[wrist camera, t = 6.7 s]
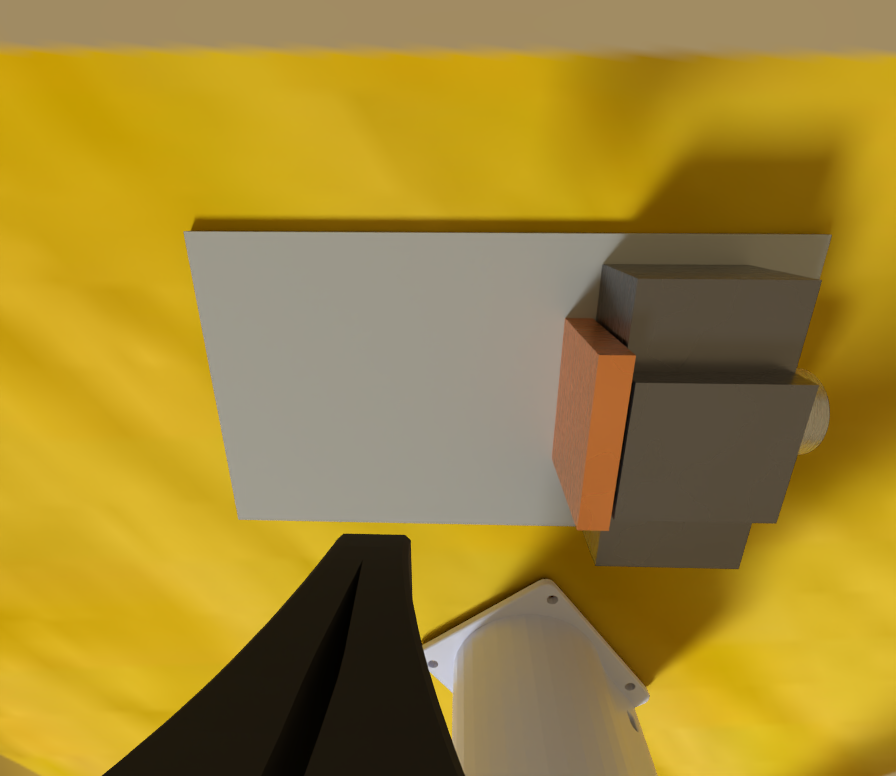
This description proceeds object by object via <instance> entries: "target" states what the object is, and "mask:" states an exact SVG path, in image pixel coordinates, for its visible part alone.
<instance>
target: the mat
mask: <svg viewBox="0 0 896 776" xmlns="http://www.w3.org/2000/svg"><path fill="white" fill-rule="evenodd" d="M184 237H185V242H186V247H187V252H188V258H189V263H190V268H191V273H192V279H193V284H194V289H195V294H196V299H197V305H198V310H199V315H200V320H201V326H202V331H203V336H204V341H205V346H206V352H207V357H208V362H209V367H210V373H211V378H212V383H213V388H214V394H215V399H216V404H217V409H218V414H219V420H220V425H221V430H222V435H223V441H224V446H225V451H226V456H227V461H228V467H229V472H230V477H231V482H232V488H233V493H234V498H235V503H236V509H237V514H238V519H239V520H287V521H337V522H388V523H438V524H488V525H538V526H575V523H574V520H573V517H572V515H571V512H570V509H569V506H568V503H567V501H566V498H565V495H564V492H563V489H562V486H561V484H560V481H559V478H558V475H557V472H556V470H555V467H554V464H553V461H552V450H553V439H554V429H555V418H556V407H557V397H558V386H559V376H560V365H561V354H562V344H563V333H564V323H565V318H593V319H594V320H595V321H596V314H597V305H598V297H599V289H600V280H601V272H602V264H686V265H752V266H757V267H762V268H766V269H771V270H776V271H781V272H786V273H790V274H795V275H800V276H805V277H810V278H814V279H820V275H821V272H822V268H823V265H824V261H825V258H826V254H827V251H828V247H829V244H830V240H831V237H832V235H827V234H691V233H496V232H300V231H184Z"/></svg>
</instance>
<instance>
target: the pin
mask: <svg viewBox="0 0 896 776" xmlns="http://www.w3.org/2000/svg"><path fill="white" fill-rule="evenodd" d="M635 359H636V355H635V354H634V353H632V352H631V351H630V350H629V349H628V348H627V347H626V346H624V345H623V344H622V343H621V342H620V341H619V340H617V339H616V338H615V337H614V336H613V335H612V334H610V333H609V332H608V331H607V330H606V329H605V328H603V327H602V326H601V325H600V324H599V323H598V322H597V321H595V320H594V319H593V318H565V323H564V333H563V344H562V354H561V365H560V376H559V386H558V397H557V407H556V418H555V429H554V439H553V450H552V461H553V464H554V467H555V470H556V472H557V475H558V478H559V481H560V484H561V486H562V489H563V492H564V495H565V498H566V501H567V503H568V506H569V509H570V512H571V515H572V517H573V520H574V523H575V526H576V529H577V530H590V531H609V527H610V520H611V514H612V507H613V501H614V494H615V488H616V481H617V475H618V469H619V462H620V456H621V449H622V443H623V436H624V430H625V423H626V417H627V410H628V404H629V397H630V391H631V384H632V378H633V372H634V365H635ZM795 373H796V374H798V375H800V376H802V377H804V378H806V379H808V380H810V381H812V382H814V383H816V384H818V385H819V388H818V391H817V394H816V397H815V400H814V404H813V407H812V410H811V413H810V417H809V420H808V423H807V426H806V429H805V433H804V436H803V439H802V442H801V445H800V449H799V452H798V455H801V454H806V453H809V452H811V451H813V450H814V449H815V448H817V446H818V445H819V444H820V443H821V442H822V440H823V438H824V437H825V434H826V432H827V429H828V425H829V418H830V408H829V401H828V397H827V394H826V391H825V389H824V387H823V385H822V383H821V382H820V380H819V379H818V378H817V377H816V376H815V375H814V374H812V373H811V372H809V371H807V370H805V369H800V368H796V372H795Z"/></svg>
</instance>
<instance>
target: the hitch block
mask: <svg viewBox="0 0 896 776" xmlns="http://www.w3.org/2000/svg"><path fill="white" fill-rule="evenodd" d="M821 282H822V280H819V279H814V278H810V277H805V276H800V275H795V274H790V273H786V272H781V271H776V270H771V269H766V268H762V267H757V266H752V265H686V264H602V272H601V280H600V289H599V297H598V305H597V314H596V321H597V322H598V323H599V324H600V325H601V326H602V327H603V328H605V329H606V330H607V331H608V332H609V333H610V334H612V335H613V336H614V337H615V338H616V339H617V340H619V341H620V342H621V343H622V344H623V345H624V346H626V347H627V348H628V349H629V350H630V351H631V352H632V353H634V354H635V355H636V359H635V365H634V372H633V378H632V384H631V391H630V397H629V404H628V410H627V417H626V423H625V430H624V436H623V443H622V449H621V456H620V462H619V469H618V475H617V481H616V488H615V494H614V501H613V507H612V514H611V520H610V527H609V531H590V530H582V531H583V534H584V537H585V539H586V542H587V545H588V547H589V550H590V553H591V555H592V558H593V561H594V564H595V566H628V567H674V568H719V569H739V566H740V562H741V559H742V555H743V552H744V549H745V545H746V542H747V538H748V535H749V531H750V528H751V524H752V523H776V522H777V519H778V516H779V513H780V510H781V506H782V503H783V500H784V497H785V494H786V490H787V487H788V484H789V481H790V477H791V474H792V471H793V468H794V465H795V461H796V458H797V455H798V452H799V449H800V445H801V442H802V439H803V436H804V433H805V429H806V426H807V423H808V420H809V417H810V413H811V410H812V407H813V404H814V400H815V397H816V394H817V391H818V388H819V385H818V384H816V383H814V382H812V381H810V380H808V379H806V378H804V377H802V376H800V375H798V374H796V373H795V372H796V368H797V365H798V362H799V358H800V355H801V351H802V348H803V344H804V341H805V337H806V334H807V330H808V327H809V323H810V320H811V317H812V313H813V310H814V306H815V303H816V299H817V296H818V292H819V289H820V285H821Z"/></svg>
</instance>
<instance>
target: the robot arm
mask: <svg viewBox="0 0 896 776" xmlns="http://www.w3.org/2000/svg"><path fill="white" fill-rule="evenodd" d="M552 595H553V596H554V597H552V598H550V597H549V596H552ZM432 660H434V661H432ZM430 672H431V673H432V674H433V675H434V676H435V677H436V678H437V679H438V680H439V681H440V682H441V683H442V684H444V685H445V686H446V687H447V688H448V689H449V690H450V691H451V692H452V693H453V717H452V739H451V737H450V734H449V731H448V728H447V725H446V722H445V719H444V716H443V714H442V711H441V708H440V705H439V702H438V699H437V695H436V692H435V689H434V686H433V682H432V679H431V676H430ZM649 697H650V695H649V693H648V690H647V688H646V687H645V685H644V684H643V683H642V682H641V681H640V680H639V679H638V677H637V676H636V675H635V674H634V673H633V672H632V671H631V669H630V668H629V667H628V666H627V665H626V664H625V663H624V661H623V660H622V659H621V658H620V657H619V656H618V655H617V653H616V652H615V651H614V650H613V649H612V648H611V647H610V645H609V644H608V643H607V642H606V641H605V640H604V639H603V637H602V636H601V635H600V634H599V633H598V632H597V631H596V629H595V628H594V627H593V626H592V625H591V624H590V623H589V621H588V620H587V619H586V618H585V617H584V616H583V615H582V613H581V612H580V611H579V610H578V609H577V608H576V607H575V605H574V604H573V603H572V602H571V601H570V600H569V599H568V597H567V596H566V595H565V594H564V593H563V592H562V591H561V589H560V588H559V587H558V586H557V585H556V584H555V583H554V582H553V581H552V580H549V579H542V580H539V581H537V582H535V583H534V584H532V585H530V586H528V587H526V588H525V589H523V590H521V591H519V592H517V593H515V594H514V595H512V596H510V597H508V598H506V599H505V600H503V601H501V602H499V603H497V604H496V605H494V606H492V607H490V608H488V609H487V610H485V611H483V612H481V613H479V614H478V615H476V616H474V617H472V618H470V619H469V620H467V621H465V622H463V623H461V624H460V625H458V626H456V627H454V628H452V629H451V630H449V631H447V632H445V633H443V634H442V635H440V636H438V637H436V638H434V639H432V640H431V641H429V642H427V643H425V644H423V645H422V643H421V639H420V634H419V630H418V625H417V620H416V615H415V610H414V605H413V600H412V570H411V540H410V539H409V538H408V537H407V536H405V535H380V534H343V535H342V536H340V537H339V538H338V539H337V541H336V542H335V543H334V545H333V546H332V547H331V548H330V550H329V551H328V552H327V553H326V555H325V556H324V557H323V559H322V560H321V561H320V562H319V564H318V565H317V566H316V567H315V568H314V570H313V571H312V572H311V573H310V575H309V576H308V577H307V578H306V579H305V581H304V582H303V583H302V584H301V585H300V587H299V588H298V589H297V590H296V591H295V592H294V593H293V595H292V596H291V597H290V598H289V599H288V600H287V601H286V603H285V604H284V605H283V606H282V607H281V608H280V609H279V611H278V612H277V613H276V614H275V615H274V616H273V617H272V618H271V620H270V621H269V622H268V623H267V624H266V625H265V626H264V627H263V628H262V629H261V630H260V631H259V632H258V633H257V634H256V635H255V636H254V637H253V639H252V640H251V641H250V642H249V643H248V644H247V645H246V646H245V647H244V648H243V649H242V650H241V651H240V652H239V653H238V654H237V655H236V656H235V657H234V658H233V659H232V660H231V661H230V662H229V663H228V664H227V665H226V666H225V667H224V668H223V669H222V670H221V671H220V672H219V673H218V674H217V675H216V676H215V677H214V678H213V679H212V680H211V681H210V682H209V683H208V684H207V685H206V686H205V687H204V688H203V689H201V690H200V691H199V692H198V693H197V694H196V695H195V696H194V697H193V698H192V699H191V700H190V701H188V702H187V703H186V704H185V705H184V706H183V707H182V708H181V709H180V710H179V711H177V712H176V713H175V714H174V715H173V716H172V717H171V718H170V719H169V720H167V721H166V722H165V723H164V724H163V725H162V726H160V727H159V728H158V729H157V730H156V731H155V732H153V733H152V734H151V735H150V736H149V737H148V738H146V739H145V740H144V741H143V742H142V743H140V744H139V745H138V746H137V747H136V748H135V749H133V750H132V751H131V752H130V753H129V754H128V755H126V756H125V757H124V758H123V759H122V760H120V761H119V762H118V763H117V764H116V765H114V766H113V767H112V768H111V769H109V770H108V771H107V772H106V773H105V774H103V775H102V776H658V775H657V773H656V770H655V767H654V764H653V761H652V758H651V755H650V752H649V749H648V746H647V743H646V741H645V738H644V735H643V732H642V729H641V726H640V723H639V720H638V717H637V714H636V712H635V709H634V708H635V707H637V706H639V705H641V704H644V703H645V702H647V701H648V699H649Z"/></svg>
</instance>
